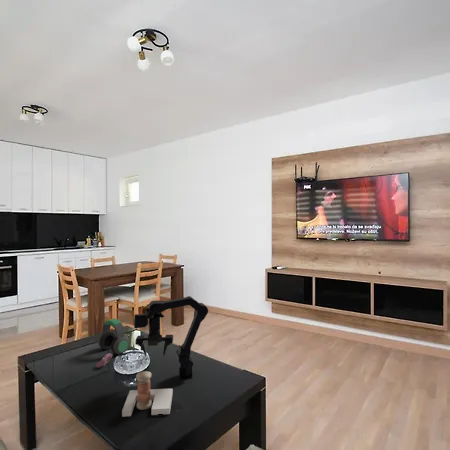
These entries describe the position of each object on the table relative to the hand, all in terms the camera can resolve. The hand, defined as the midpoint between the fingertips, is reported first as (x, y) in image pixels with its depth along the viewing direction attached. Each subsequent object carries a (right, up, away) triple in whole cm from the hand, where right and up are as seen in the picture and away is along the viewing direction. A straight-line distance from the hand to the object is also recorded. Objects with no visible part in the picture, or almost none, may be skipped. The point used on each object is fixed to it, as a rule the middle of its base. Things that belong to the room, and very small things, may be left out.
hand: (154, 355), depth 166 cm
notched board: (+2, -14, -20) cm, 25 cm away
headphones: (-34, -12, +37) cm, 52 cm away
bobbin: (0, -14, -21) cm, 25 cm away
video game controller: (-33, -13, +19) cm, 40 cm away
